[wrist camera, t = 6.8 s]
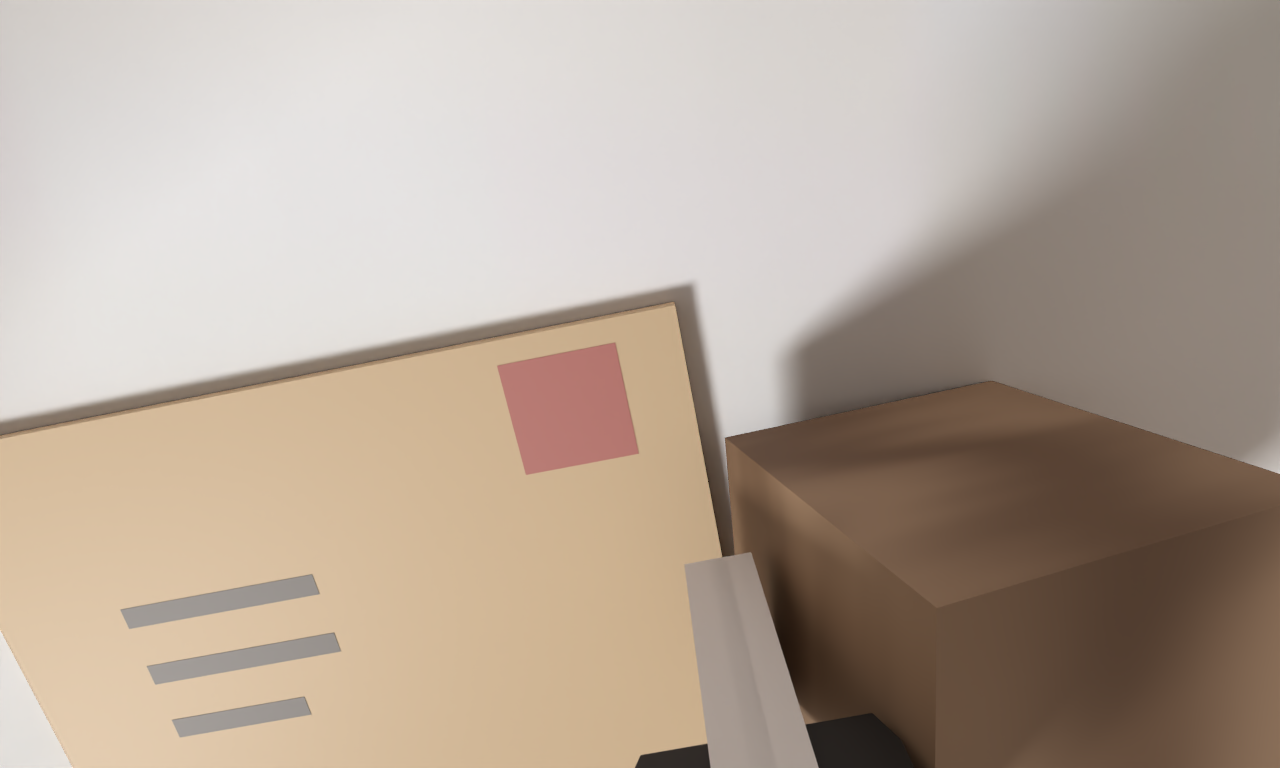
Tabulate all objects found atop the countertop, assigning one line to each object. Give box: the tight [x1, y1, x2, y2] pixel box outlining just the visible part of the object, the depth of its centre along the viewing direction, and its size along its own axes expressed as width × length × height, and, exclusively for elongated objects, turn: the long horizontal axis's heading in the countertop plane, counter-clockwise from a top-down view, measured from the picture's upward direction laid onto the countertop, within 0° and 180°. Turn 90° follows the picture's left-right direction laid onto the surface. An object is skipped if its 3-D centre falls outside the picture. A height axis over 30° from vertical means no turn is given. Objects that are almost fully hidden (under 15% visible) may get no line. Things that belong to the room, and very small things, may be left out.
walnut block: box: [725, 381, 1280, 768], centre depth 12 cm, size 6×6×6 cm
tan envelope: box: [0, 302, 722, 768], centre depth 16 cm, size 16×12×1 cm
